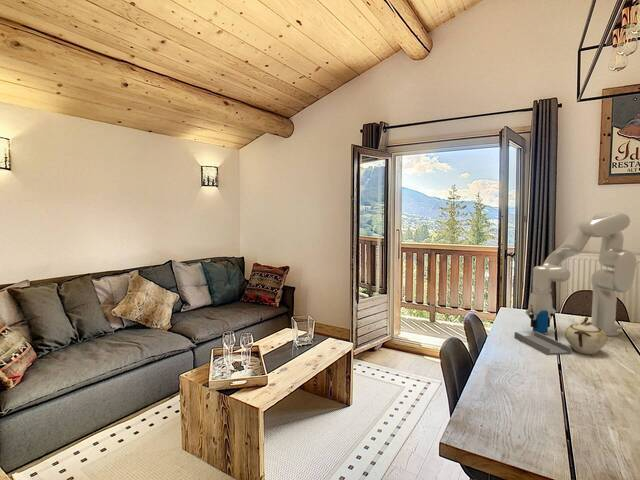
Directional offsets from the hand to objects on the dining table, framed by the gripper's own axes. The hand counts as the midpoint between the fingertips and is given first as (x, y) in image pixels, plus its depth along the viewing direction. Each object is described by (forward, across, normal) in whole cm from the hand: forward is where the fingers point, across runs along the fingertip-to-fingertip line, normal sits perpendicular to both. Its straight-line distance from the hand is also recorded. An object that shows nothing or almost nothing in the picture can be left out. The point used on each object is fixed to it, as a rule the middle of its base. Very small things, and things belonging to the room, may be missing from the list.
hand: (540, 326), depth 185 cm
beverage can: (+3, 0, 0) cm, 3 cm away
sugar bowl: (+4, -3, +24) cm, 25 cm away
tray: (+3, +12, +16) cm, 20 cm away
